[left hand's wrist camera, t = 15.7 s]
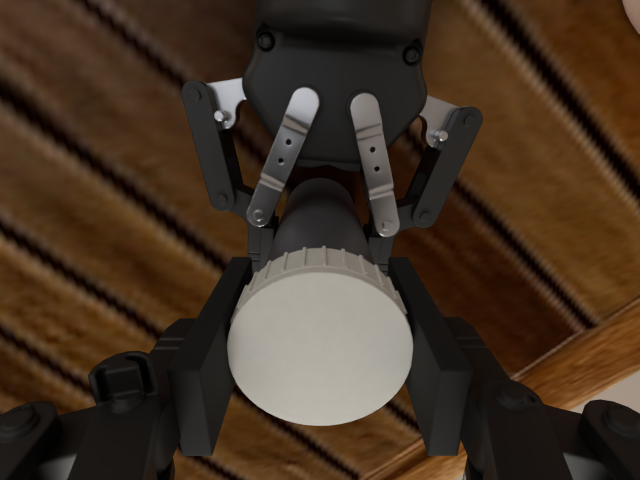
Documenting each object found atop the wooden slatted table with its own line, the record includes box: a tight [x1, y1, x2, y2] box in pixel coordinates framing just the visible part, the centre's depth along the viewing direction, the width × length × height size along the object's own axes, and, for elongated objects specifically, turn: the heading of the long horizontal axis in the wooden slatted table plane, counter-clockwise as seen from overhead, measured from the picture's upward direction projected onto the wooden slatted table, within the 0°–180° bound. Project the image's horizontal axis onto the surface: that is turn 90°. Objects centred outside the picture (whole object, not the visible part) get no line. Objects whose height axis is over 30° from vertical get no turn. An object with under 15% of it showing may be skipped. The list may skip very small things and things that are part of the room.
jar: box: [264, 178, 375, 267], centre depth 18 cm, size 5×5×15 cm
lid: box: [227, 246, 413, 426], centre depth 11 cm, size 6×6×2 cm
